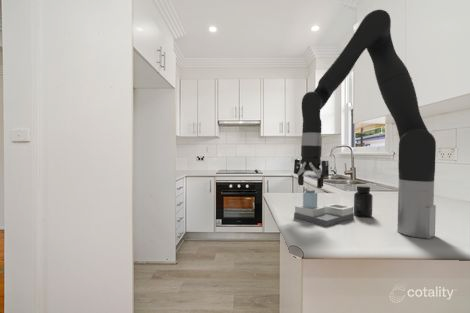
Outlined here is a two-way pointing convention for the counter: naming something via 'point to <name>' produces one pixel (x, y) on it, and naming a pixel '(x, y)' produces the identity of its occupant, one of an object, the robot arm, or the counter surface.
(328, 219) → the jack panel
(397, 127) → the robot arm
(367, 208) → the supplement bottle
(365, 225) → the counter surface
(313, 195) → the plug
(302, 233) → the counter surface
